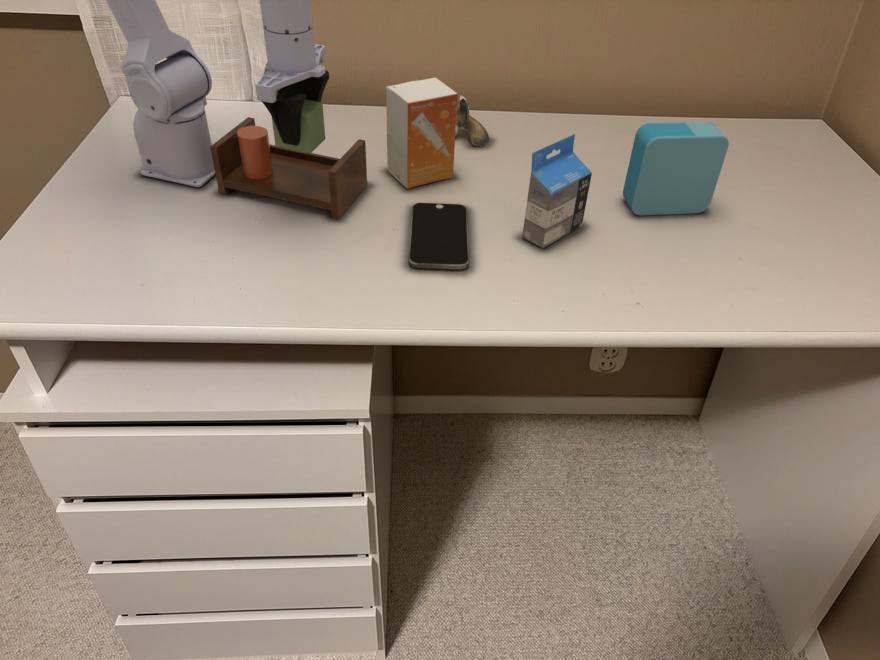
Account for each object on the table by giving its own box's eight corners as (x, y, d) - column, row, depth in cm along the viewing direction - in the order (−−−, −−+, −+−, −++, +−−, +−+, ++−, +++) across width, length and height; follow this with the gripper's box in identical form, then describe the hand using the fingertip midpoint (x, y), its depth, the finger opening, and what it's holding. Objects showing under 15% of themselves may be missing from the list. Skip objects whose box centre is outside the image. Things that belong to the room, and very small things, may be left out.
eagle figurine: (423, 127, 118) (459, 137, 112) (437, 83, 116) (475, 92, 111) (454, 142, 124) (491, 153, 118) (468, 101, 122) (506, 109, 117)
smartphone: (467, 203, 102) (469, 265, 91) (466, 208, 102) (469, 270, 91) (412, 201, 101) (407, 263, 90) (412, 206, 102) (407, 268, 91)
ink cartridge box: (542, 250, 96) (555, 164, 88) (520, 238, 98) (530, 153, 89) (583, 226, 101) (598, 143, 93) (561, 215, 103) (574, 132, 94)
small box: (407, 190, 105) (406, 102, 96) (386, 171, 109) (384, 85, 100) (454, 178, 109) (458, 92, 100) (433, 159, 112) (435, 75, 104)
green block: (275, 146, 94) (270, 108, 90) (291, 132, 97) (286, 95, 93) (310, 153, 93) (307, 116, 90) (325, 139, 96) (322, 102, 93)
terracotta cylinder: (238, 176, 100) (230, 135, 96) (252, 163, 103) (246, 123, 99) (264, 182, 99) (258, 141, 95) (278, 169, 102) (273, 128, 98)
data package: (695, 197, 109) (718, 121, 101) (707, 213, 106) (732, 136, 98) (620, 200, 107) (637, 122, 99) (630, 216, 104) (648, 137, 96)
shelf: (338, 219, 98) (335, 172, 93) (219, 193, 101) (209, 146, 96) (367, 185, 105) (365, 140, 101) (255, 161, 108) (248, 116, 104)
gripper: (290, 52, 79) (302, 166, 88) (345, 13, 90) (350, 118, 99) (232, 41, 80) (250, 155, 89) (292, 4, 91) (303, 109, 100)
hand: (299, 135), depth 94 cm, fingers closed on green block, 4 cm apart
